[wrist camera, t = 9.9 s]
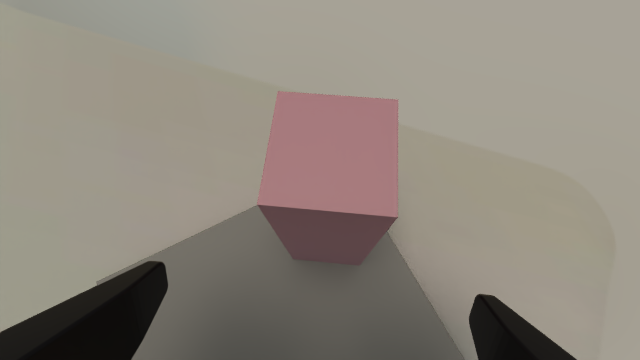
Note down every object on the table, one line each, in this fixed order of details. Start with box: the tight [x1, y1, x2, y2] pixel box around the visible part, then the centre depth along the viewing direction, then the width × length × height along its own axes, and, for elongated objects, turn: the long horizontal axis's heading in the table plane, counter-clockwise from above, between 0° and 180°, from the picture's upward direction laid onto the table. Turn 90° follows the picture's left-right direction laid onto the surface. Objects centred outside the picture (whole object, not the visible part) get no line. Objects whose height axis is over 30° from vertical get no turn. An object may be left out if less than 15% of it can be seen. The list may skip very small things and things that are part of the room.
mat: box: [97, 205, 464, 360], centre depth 20 cm, size 19×16×1 cm
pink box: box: [257, 91, 398, 266], centre depth 16 cm, size 5×4×12 cm
